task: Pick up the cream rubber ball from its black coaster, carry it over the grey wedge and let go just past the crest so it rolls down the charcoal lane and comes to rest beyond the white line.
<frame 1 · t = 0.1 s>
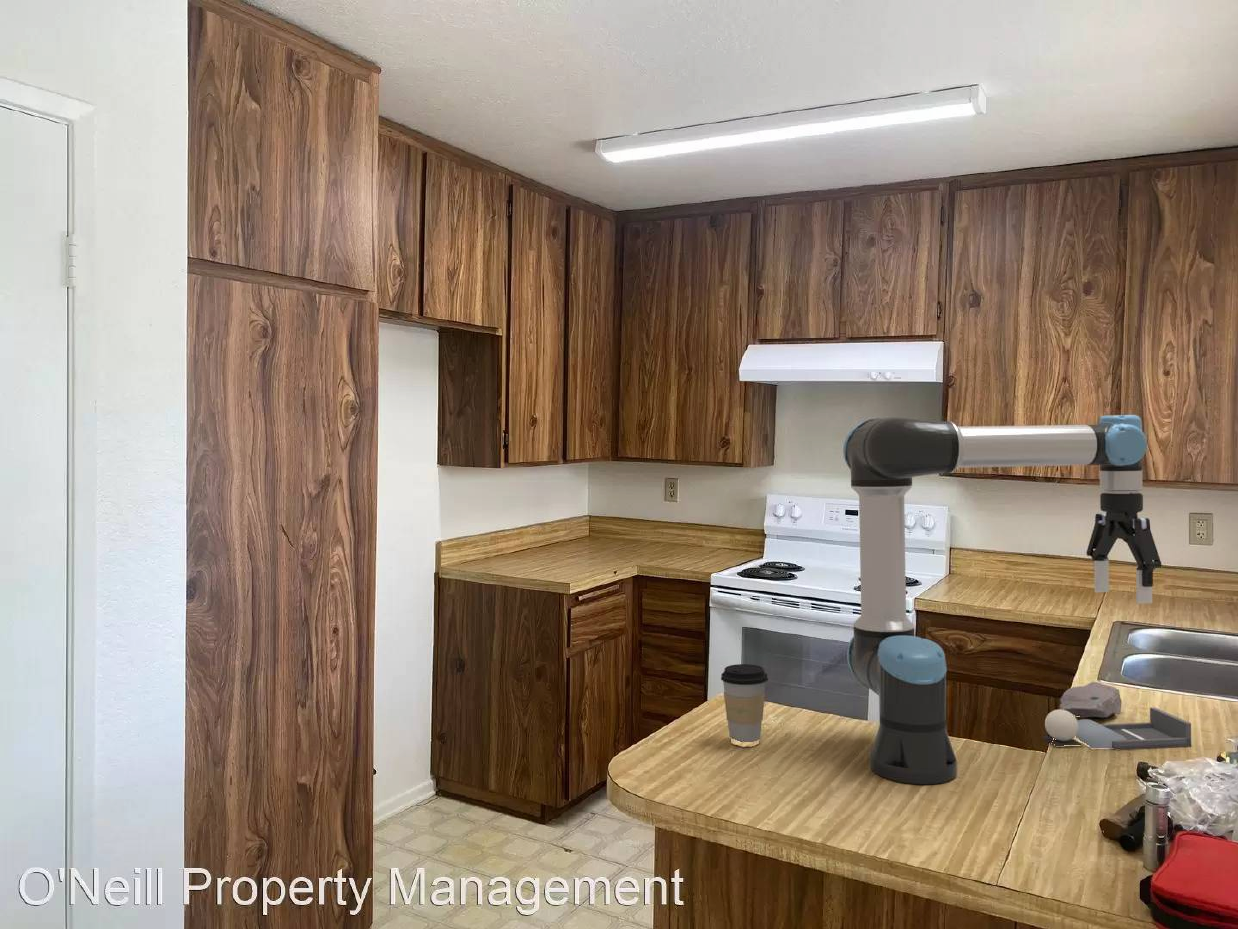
hand: (1122, 597, 183), 28 cm above the counter, fingers open, 13 cm apart
coffee cup: (745, 743, 183), on the counter
grey wedge: (1098, 741, 180), on the counter
stone: (1092, 716, 197), on the counter
lane: (1135, 739, 180), on the counter
ball: (1061, 725, 179), point 3 cm above the counter, touching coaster
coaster: (1061, 742, 179), on the counter
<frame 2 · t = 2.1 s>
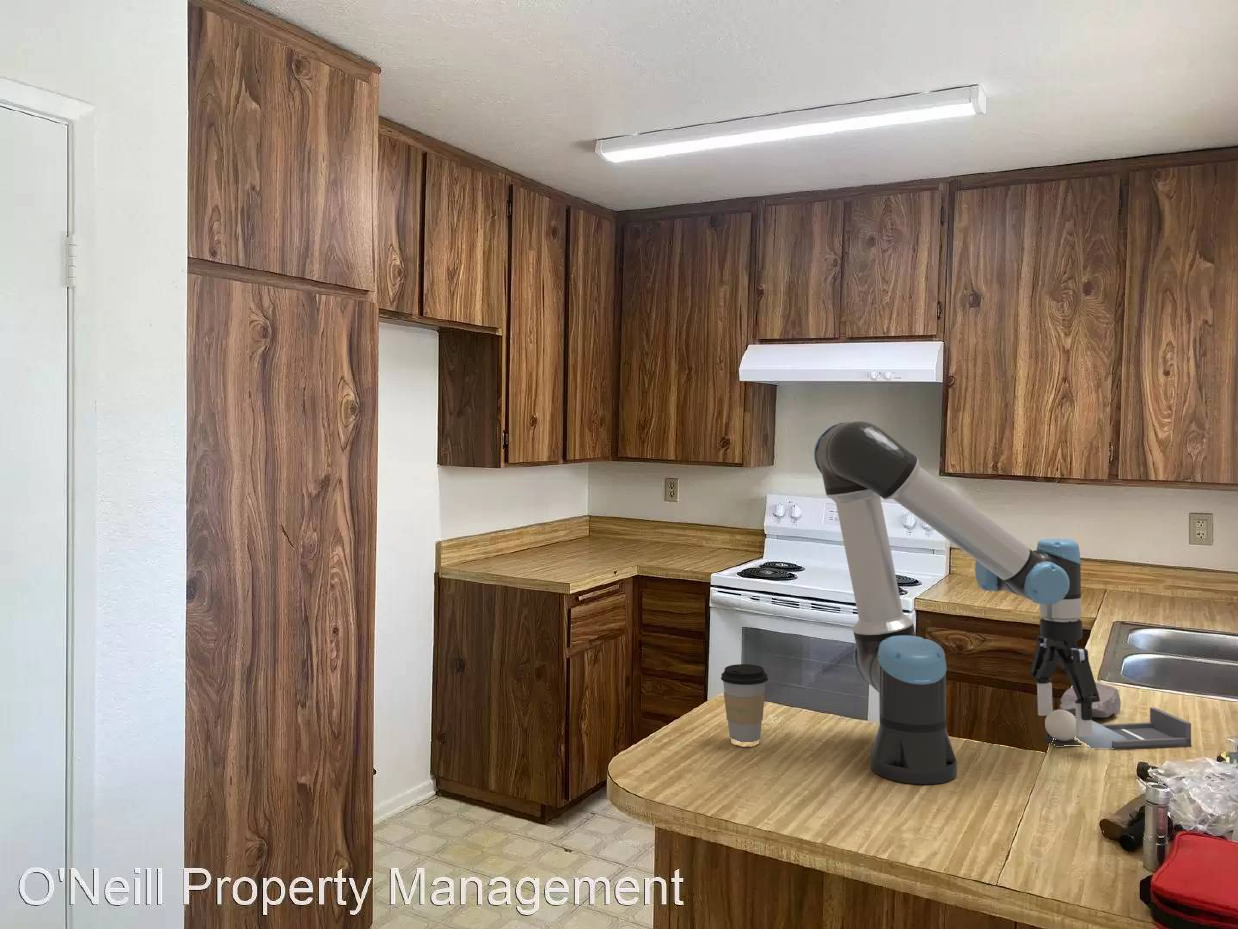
hand: (1064, 725, 179), 3 cm above the counter, fingers open, 13 cm apart
nothing on the counter moved.
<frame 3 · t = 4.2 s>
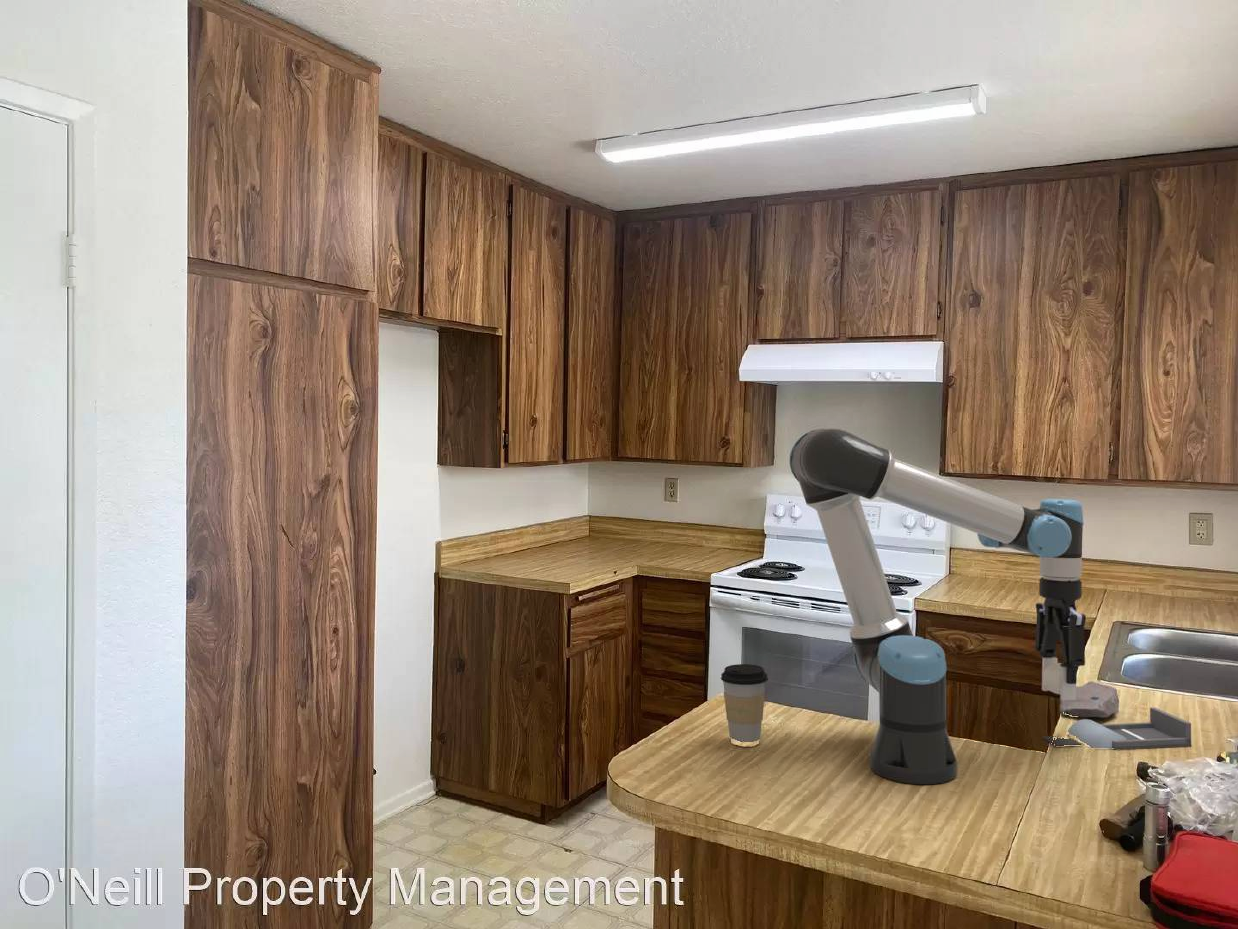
hand: (1058, 694, 179), 10 cm above the counter, fingers closed on ball, 6 cm apart
ball: (1059, 678, 179), point 13 cm above the counter, touching gripper
everything else where it was.
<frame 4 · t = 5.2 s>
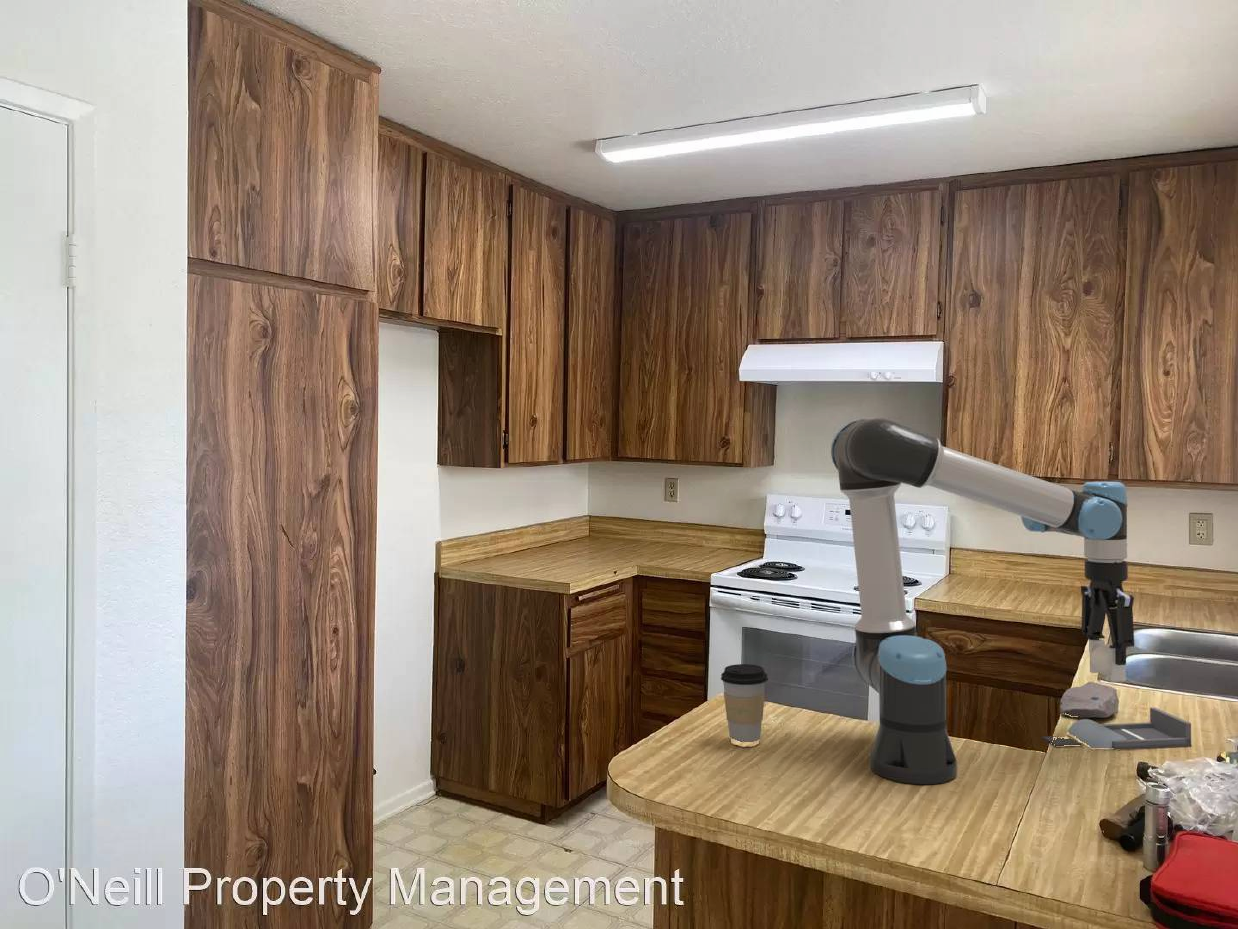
hand: (1107, 676, 180), 13 cm above the counter, fingers closed on ball, 6 cm apart
ball: (1108, 660, 180), point 16 cm above the counter, touching gripper
everything else where it was.
when the fingers open (3 cm above the counter, at t = 6.5 s): ball drops 3 cm and tips over, resting on lane.
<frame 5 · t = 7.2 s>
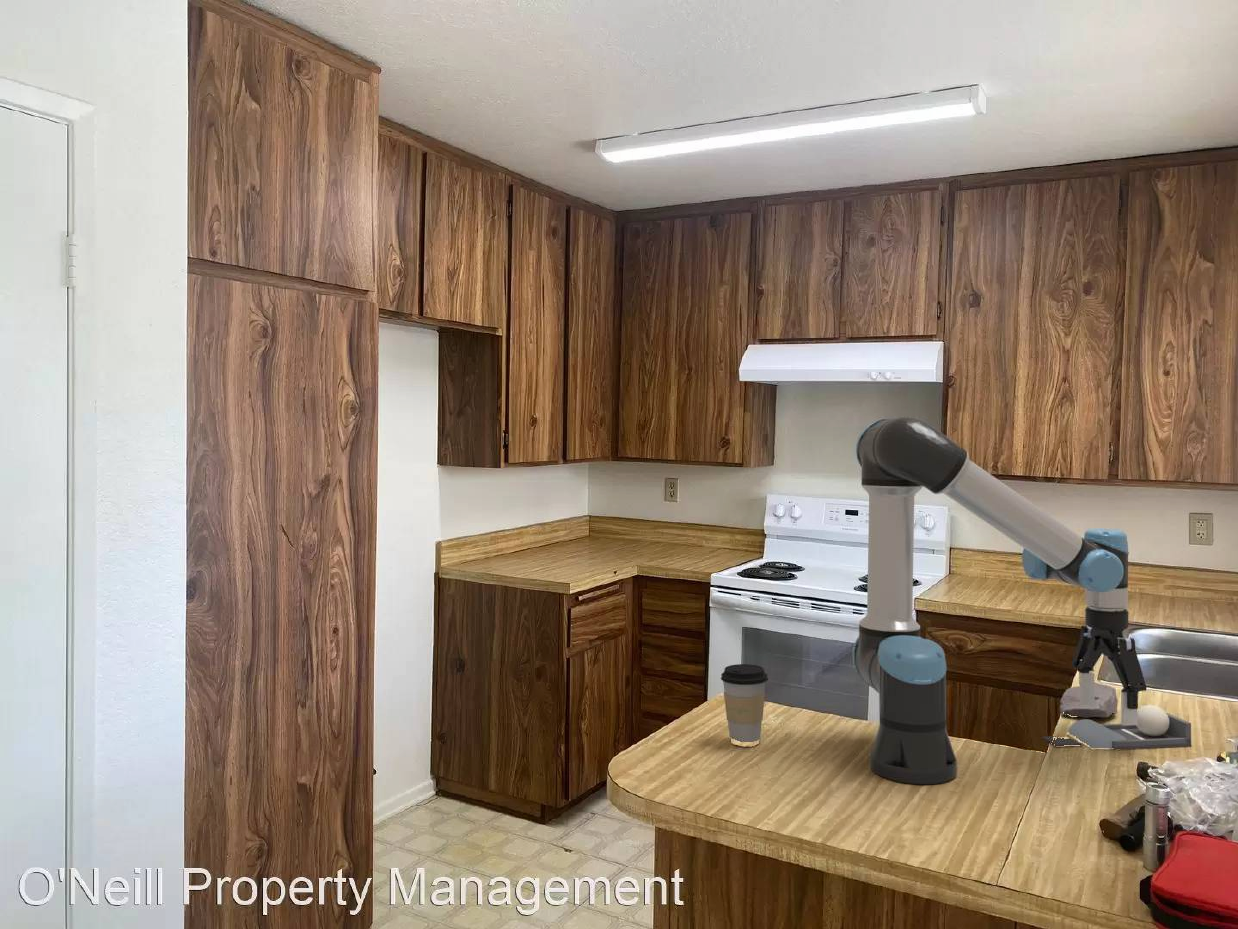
hand: (1107, 714, 180), 5 cm above the counter, fingers open, 13 cm apart
ball: (1151, 720, 181), point 4 cm above the counter, tilted 169°, touching lane
everything else where it was.
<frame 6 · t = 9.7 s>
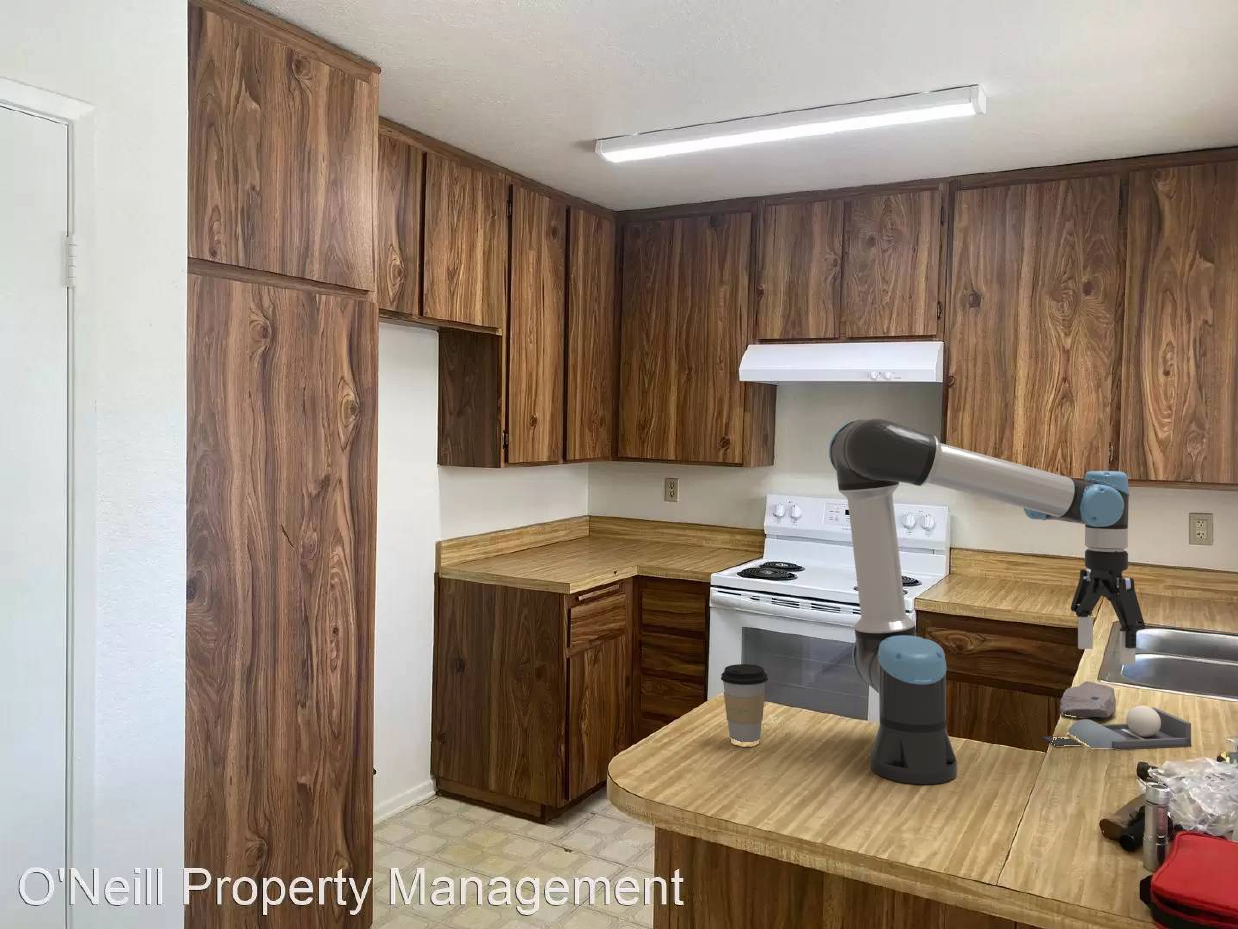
hand: (1105, 656, 180), 17 cm above the counter, fingers open, 13 cm apart
ball: (1143, 721, 181), point 4 cm above the counter, tilted 158°, touching lane
everything else where it was.
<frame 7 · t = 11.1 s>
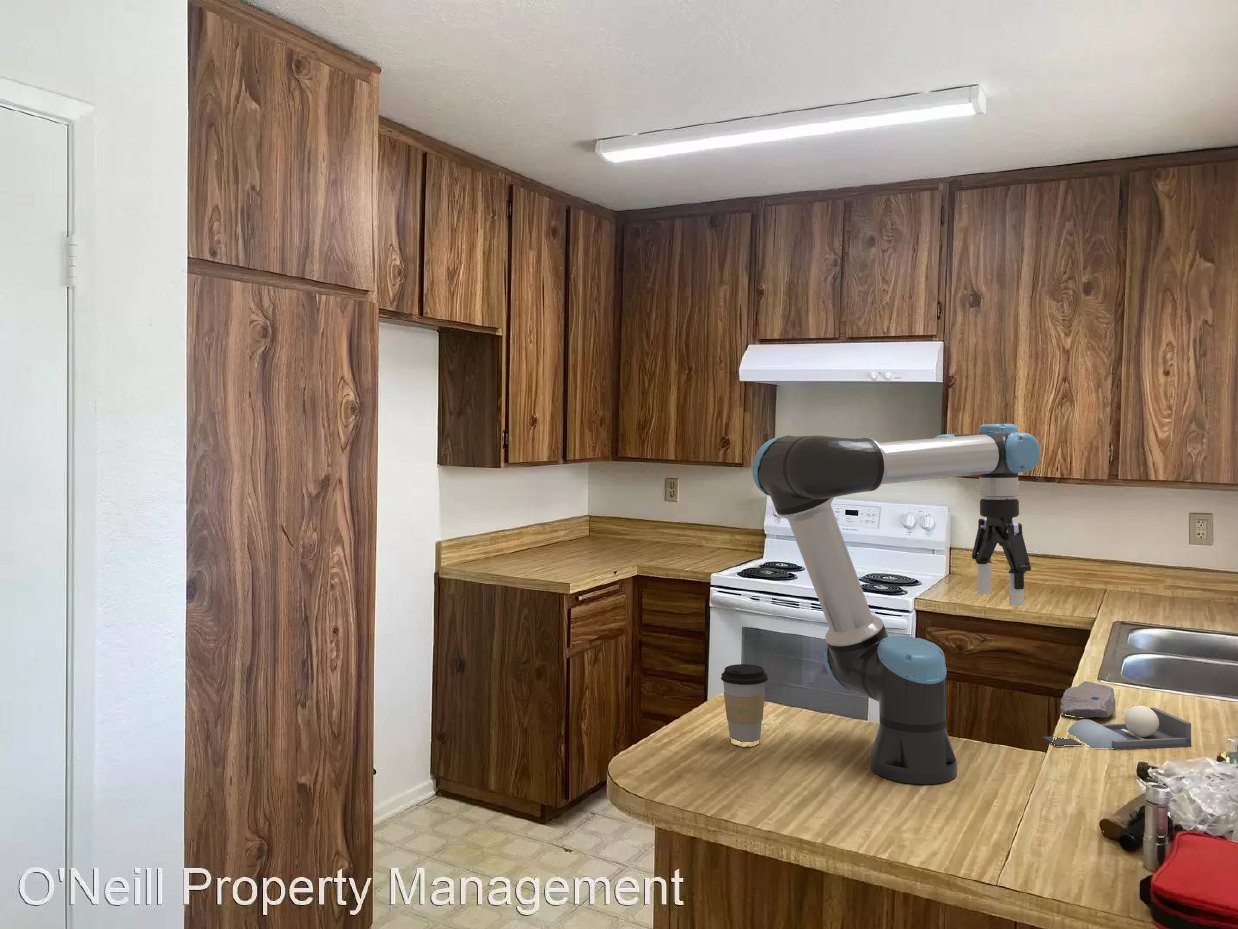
hand: (1000, 599, 190), 27 cm above the counter, fingers open, 13 cm apart
ball: (1141, 721, 180), point 4 cm above the counter, tilted 149°, touching lane
everything else where it was.
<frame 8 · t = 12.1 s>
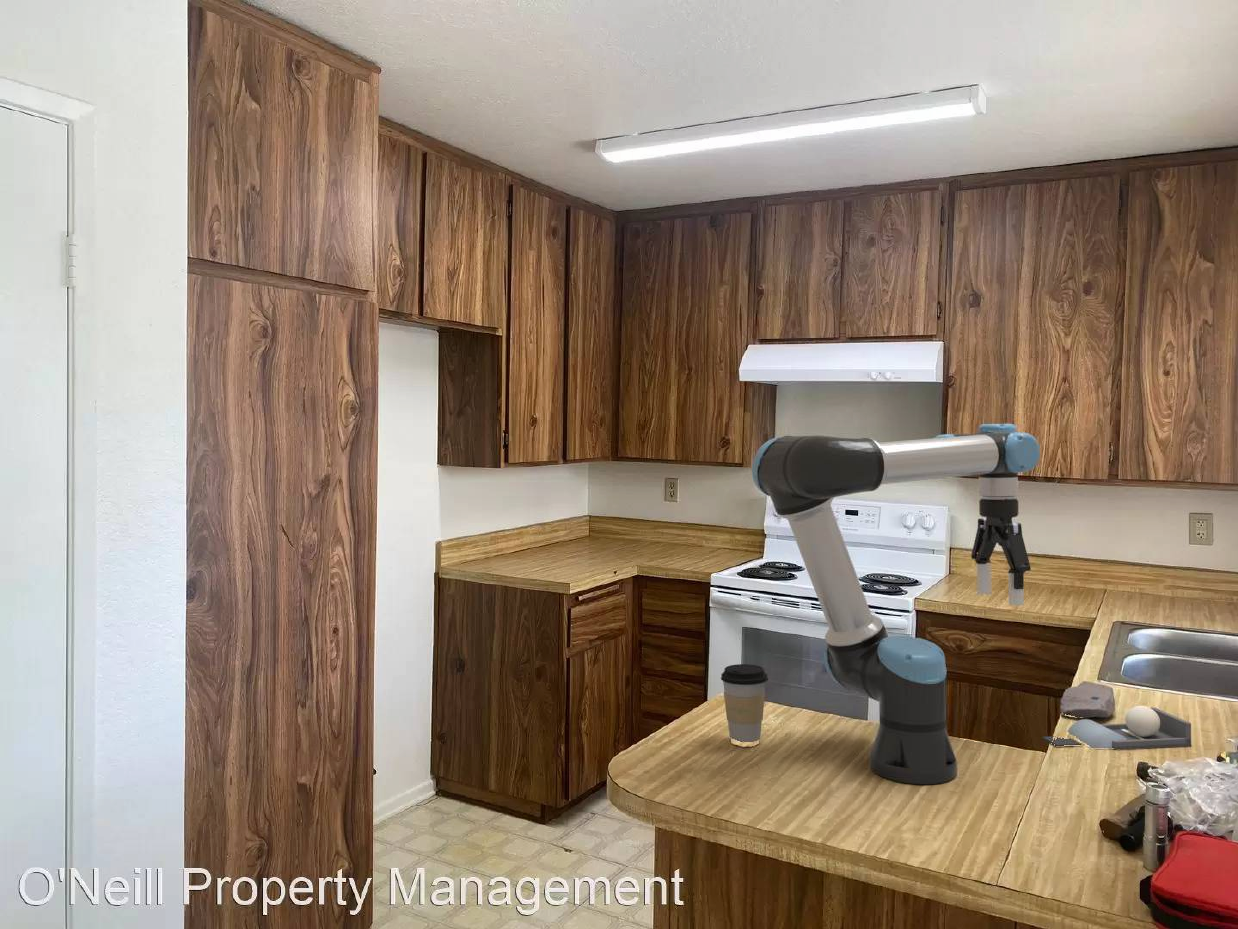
hand: (999, 599, 190), 27 cm above the counter, fingers open, 13 cm apart
nothing on the counter moved.
at the end: ball inside the target area (2.7 cm from its centre), point 3.6 cm above the counter; the gripper is holding nothing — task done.
